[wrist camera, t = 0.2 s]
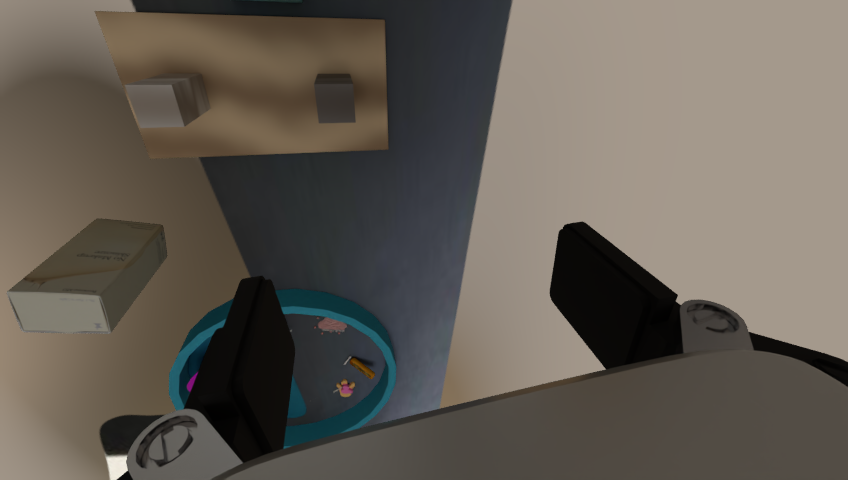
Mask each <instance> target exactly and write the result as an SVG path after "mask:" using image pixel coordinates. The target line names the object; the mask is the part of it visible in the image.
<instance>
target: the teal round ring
mask: <svg viewBox="0 0 848 480" xmlns="http://www.w3.org/2000/svg"><path fill="white" fill-rule="evenodd" d="M275 291H276V294H277V297H278V300H279V303H280V305H281V308H282V311H283V314H290V313H297V314H306V315H316V316H324V317H326V318H324V319H323V321H320V322H319V323H318V326H319V328H321V329H323V330H324V331H325V329H326V331H329V330H327V329H334V330H336V332H337V330H339V331H340V332H341V330H343V332H344V329H345V328H346V327H347V324H350V325H351V326H353V327H354V328H356V329H358V330H359V331H361V332H363V333H364V334H366V335H368V336H369V337H370V338H371V339H372V340H373V341H374V342H375V343H376V345H377V346H378V347H379V348H380V349H381V350H382V351H383V354H384V356H385V359H386V366H385V369H384V371H383V374H382V376H381V379H380V381H379V383H378V384H377V385H376V386H375V388H374V389H373V390H372V391H371V393H370V394H369V395H368V396H367V397H366V398H364V399H363V400H362V401H360V402H359V403H358V404H357V405H355V406H354V407H352V408H350V409H349V410H347V411H345V412H343V413H341V414H339V415H337V416H335V417H331V418H328V419H325V420H322V421H319V422H316V423H310V424H304V425H297V426H286V432H285V440H284V448H283V449H285V448H288V447H291V446H295V445H298V444H301V443H305V442H309V441H313V440H317V439H321V438H324V437H328V436H332V435H336V434H340V433H344V432H347V431H351V430H355V429H358V428H360V427H361V426H363V425H364V424H365V423H366V422H368V421H369V420H370V419H372V418H373V417H374V416H376V415H377V413H378V412H379V411H380V410H381V408H382V407H383V406H384V405H385V404H386V402H387V401H388V400H389V397H390V395H391V393H392V390H393V388H394V386H395V382H396V362H395V357H394V351H393V347H392V344H391V341H390V339H389V336H388V333H387V331H386V329H385V328H384V327H383V326H382V325H381V323H380V322H379V321H378V320H377V319H376V317H375V316H374V315H373V314H371V313H370V312H368V311H367V310H365V309H364V308H362V307H360V306H359V305H357V304H356V303H354V302H352V301H350V300H347V299H344V298H341V297H338V296H335V295H332V294H329V293H326V292H318V291H310V290H302V289H287V290H275ZM233 299H234V298H233ZM233 299H231V300H230V301H228V302H226V303H224V304H222V305H220V306H218V307H217V308H215V309H213V310H211V311H209V312H208V313H207V314H206V315H205V316H204V317H203V318H202V319H201V320H200V321H199V322H198V323H197V324H196V325H195V326H194V327H193V328H192V329H191V330H190V332H189V333H188V335H187V338H186V340H185V342H184V344H183V346H182V348H181V350H180V352H179V354H178V356H177V358H176V361H175V363H174V365H173V367H172V369H171V371H170V374H169V395H170V397H171V400H172V402H173V404H174V406H175V409H176V411H177V410H183V409H184V407H185V404H186V402H187V399H188V396H189V394H190V391H191V389H192V386H193V384H194V381H195V379H196V376H197V374H198V371H199V369H200V366H201V364H202V361H203V359H204V356H205V353H206V351H207V348H208V346H209V343H210V341H211V338H212V336H213V334H214V332H215V330H217V329H218V328H222V327H223V326H224V324H225V321H226V318H227V316H228V313H229V310H230V307H231V305H232V302H233ZM317 319H319V317H317ZM346 323H347V324H346ZM314 328H316V326H314ZM323 330H322V331H323ZM290 332H292V330H290ZM331 332H332V331H331V330H330V333H331ZM340 332H338V334H340ZM321 334H323V332H322V333H321ZM349 358H350V359H351V357H349ZM349 358H348V359H347V360H349ZM346 362H348V361H346ZM350 364H351V365H352V366H354V367H355V368H356V369H358V370H359V371H360V372H362V373H363V374H364V375H366V376H367V377H368V378H370V379H372V378H373V377H374V376H375V373H374V372H373V371H372V370H370V369H369V368H368V367H366V366H365V365H364V364H362V363H361V362H360V361H358V360H357V359H356V358H352V359H351V361H350ZM344 365H345V363H344ZM354 386H355V383H354V382H352V383H351V384H350V385H349V384H347V380H346V379H343V380H342V381H341V384H339V383H337V387H338V388H339V389H338V390H340V394H341V396H343V397H349V396H350V395H351V393H353V389H352V388H353V387H354ZM336 391H337V390H336ZM336 391H334V392H336ZM334 392H333V393H334ZM305 413H306V405H305V403H304V400H303V397H302V395H301V393H300V391H299V388H298V386H297V384H296V382H295V379H294V377H293V374H292V382H291V391H290V399H289V407H288V415H287V418H297V417H301V416H303V415H305Z"/></svg>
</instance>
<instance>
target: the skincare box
mask: <svg viewBox="0 0 848 480" xmlns="http://www.w3.org/2000/svg"><path fill="white" fill-rule="evenodd" d="M166 257H167V250H166V242H165V235H164V230H163V226H162V225H158V224H150V223H139V222H129V221H119V220H109V219H96V220H94V221H93V222H92V223H91V224H89V225H88V226H87V227H86V228H85V229H83V230H82V231H81V232H80V233H78V234H77V235H76V236H75V237H73V238H72V239H71V240H70V241H69V242H68V243H66V244H65V245H64V246H62V247H61V248H60V249H59V250H58V251H56V252H55V253H54V254H53V255H51V256H50V257H49V258H48V259H47V260H45V261H44V262H43V263H42V264H41V265H40V266H38V267H37V268H36V269H34V270H33V271H32V272H31V273H30V274H28V275H27V276H26V277H25V278H23V279H22V280H21V281H20V282H18V283H17V284H16V285H15V286H14V287H12V288H11V289H10V290H9V291H7V295H8V298H9V301H10V303H11V306H12V309H13V311H14V314H15V316H16V319H17V321H18V324H19V326H20V329H21V330H22V331H23V332H41V333H44V332H45V333H106V334H108V333H109V334H110V333H111V332H112V331H113V329H114V328H115V327H116V325H117V324H118V322H119V321H120V319H121V318H122V317H123V316H124V314H125V313H126V311H127V310H128V309H129V307H130V306H131V305H132V303H133V302H134V301H135V299H136V298H137V297H138V295H139V294H140V293H141V291H142V290H143V289H144V287H145V286H146V284H147V283H148V282H149V280H150V279H151V277H152V276H153V275H154V273H155V272H156V271H157V270H158V268H159V267H160V265H161V264H162V263H163V261H164V260H165V259H166Z"/></svg>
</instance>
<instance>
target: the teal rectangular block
mask: <svg viewBox="0 0 848 480" xmlns="http://www.w3.org/2000/svg"><path fill="white" fill-rule="evenodd" d="M238 1H265V2H292V3H303V1H302V0H238Z"/></svg>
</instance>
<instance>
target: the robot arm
mask: <svg viewBox="0 0 848 480" xmlns="http://www.w3.org/2000/svg"><path fill="white" fill-rule="evenodd" d="M677 296H678V295H677V294H676V293H674V292H673V291H672V290H671V289H669V288H668V287H667V286H666V285H664V284H663V283H662V282H660V281H659V280H658V279H656V278H655V277H654V276H653V275H651V274H650V273H649V272H648V271H646V270H645V269H643V268H642V267H641V266H640V265H639V264H637V263H636V262H635V261H633V260H632V259H631V258H630V257H628V256H627V255H626V254H625V253H623V252H622V251H621V250H619V249H618V248H617V247H615V246H614V245H613V244H612V243H610V242H609V241H608V240H607V239H605V238H604V237H603V236H601V235H600V234H599V233H597V232H596V231H595V230H594V229H592V228H591V227H590V226H589V225H587V224H586V223H584V222H577V223H570V224H566V225H564V227H563V229H561V230H560V231H559V234H558V241H557V248H556V254H555V261H554V267H553V274H552V281H551V287H550V297H551V300H552V301H553V303H554V304H555V306H556V307H557V308H558V309H559V311H560V312H561V313H562V314H563V316H564V317H565V318H566V319H567V321H568V322H569V323H570V324H571V326H572V327H573V328H574V329H575V331H576V332H577V333H578V335H579V336H580V337H581V338H582V339H583V341H584V342H585V343H586V345H587V346H588V347H589V348H590V349H591V351H592V352H593V353H594V355H595V356H596V357H597V358H598V360H599V361H600V362H601V363H602V365H603V366H604V367H605V368H606V370H602V371H597V372H593V373H589V374H585V375H581V376H576V377H572V378H567V379H563V380H559V381H554V382H550V383H546V384H542V385H538V386H534V387H529V388H525V389H521V390H516V391H512V392H508V393H504V394H499V395H495V396H491V397H487V398H483V399H478V400H474V401H471V402H466V403H462V404H457V405H453V406H449V407H445V408H441V409H437V410H433V411H429V412H424V413H420V414H416V415H412V416H408V417H404V418H400V419H396V420H392V421H388V422H383V423H379V424H375V425H371V426H367V427H363V428H359V429H355V430H351V431H347V432H344V433H340V434H336V435H332V436H328V437H324V438H321V439H317V440H313V441H309V442H305V443H301V444H298V445H295V446H291V447H288V448H285V449H283V448H284V440H285V432H286V424H287V415H288V407H289V399H290V391H291V382H292V374H293V366H294V357H295V346H294V342H293V339H292V336H291V333H290V331H289V328H288V325H287V322H286V319H285V317H284V314H283V311H282V308H281V305H280V303H279V300H278V297H277V294H276V291H275V289H274V286H273V283H272V281H271V280H270V279H268V280H265V278H264V277H263V276H257V277H251V278H245V279H242V280H241V281H240V283H239V286H238V289H237V291H236V294H235V297H234V299H233V302H232V305H231V307H230V310H229V313H228V316H227V318H226V321H225V324H224V326H223V327H222V328H218V329H217V330H215V332H214V334H213V336H212V338H211V341H210V343H209V346H208V348H207V351H206V353H205V356H204V359H203V361H202V364H201V366H200V369H199V371H198V374H197V376H196V379H195V381H194V384H193V386H192V389H191V391H190V394H189V396H188V399H187V402H186V404H185V407H184V409H183V410H177V411H174V412H172V413H169V414H166V415H165V416H163V417H161V418H159V419H158V420H156V421H154V422H153V423H152V424H151V425H150V426H148V427H147V428H146V429H145V430H144V431H143V432H142V433H141V434H140V435H139V436H138V438H137V439H136V440H135V441H134V443H133V445H132V447H131V448H130V450H129V452H128V457H127V461H126V463H127V468H128V471H127V472H126V473H124V474H123V475H122V476H121V477H120V478H118V479H117V480H848V362H846V361H844V360H842V359H840V358H837V357H834V356H831V355H828V354H825V353H821V352H818V351H814V350H810V349H807V348H803V347H800V346H796V345H792V344H789V343H786V342H782V341H779V340H775V339H772V338H768V337H765V336H761V335H758V334H754V333H751V332H748V329H747V326H746V324H745V322H744V320H743V319H742V318H741V317H740V316H739V315H738V314H737V313H735V312H734V311H732V310H730V309H729V308H727V307H725V306H722V305H720V304H717V303H714V302H711V301H705V300H690V301H686V302H684V303H683V304H682V305H680V304H678V303H677V302H676V299H677Z"/></svg>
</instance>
